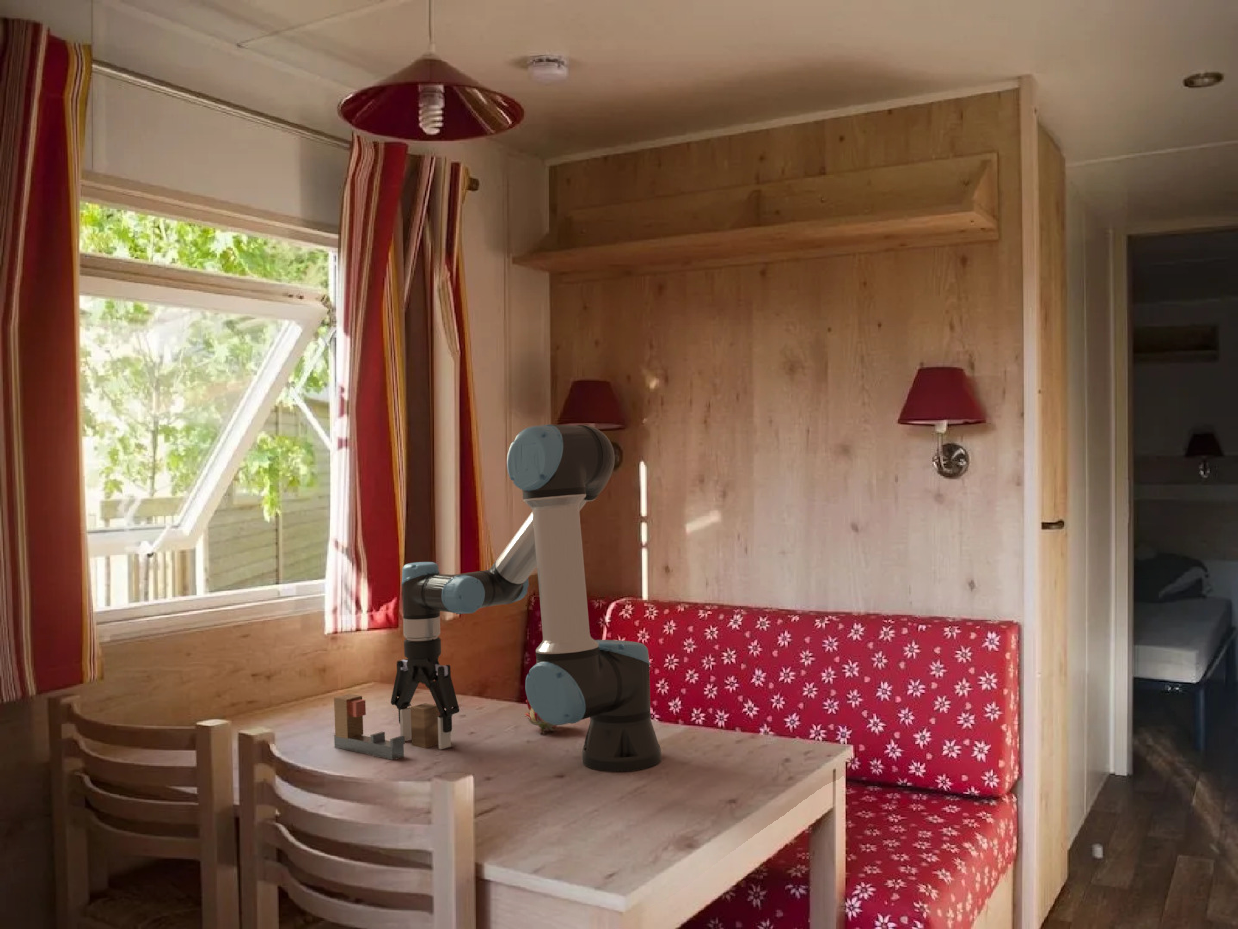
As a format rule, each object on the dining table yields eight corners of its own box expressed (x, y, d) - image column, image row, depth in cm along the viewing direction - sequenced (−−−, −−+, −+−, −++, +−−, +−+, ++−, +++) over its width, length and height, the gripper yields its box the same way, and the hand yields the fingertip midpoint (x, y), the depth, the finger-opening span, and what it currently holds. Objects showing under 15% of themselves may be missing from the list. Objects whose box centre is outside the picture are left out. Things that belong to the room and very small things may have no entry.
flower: (562, 730, 230) (569, 694, 235) (519, 722, 230) (527, 687, 235) (561, 746, 238) (567, 711, 243) (519, 738, 238) (526, 704, 243)
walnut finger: (425, 748, 226) (423, 709, 226) (411, 745, 228) (410, 707, 228) (446, 741, 231) (445, 703, 231) (433, 739, 233) (432, 701, 233)
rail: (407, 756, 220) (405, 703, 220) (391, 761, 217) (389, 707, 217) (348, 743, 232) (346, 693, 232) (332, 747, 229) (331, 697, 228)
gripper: (475, 639, 224) (478, 747, 225) (398, 630, 239) (401, 732, 239) (448, 645, 218) (451, 756, 219) (371, 635, 233) (374, 739, 233)
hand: (425, 743), depth 229 cm, fingers open, 11 cm apart
